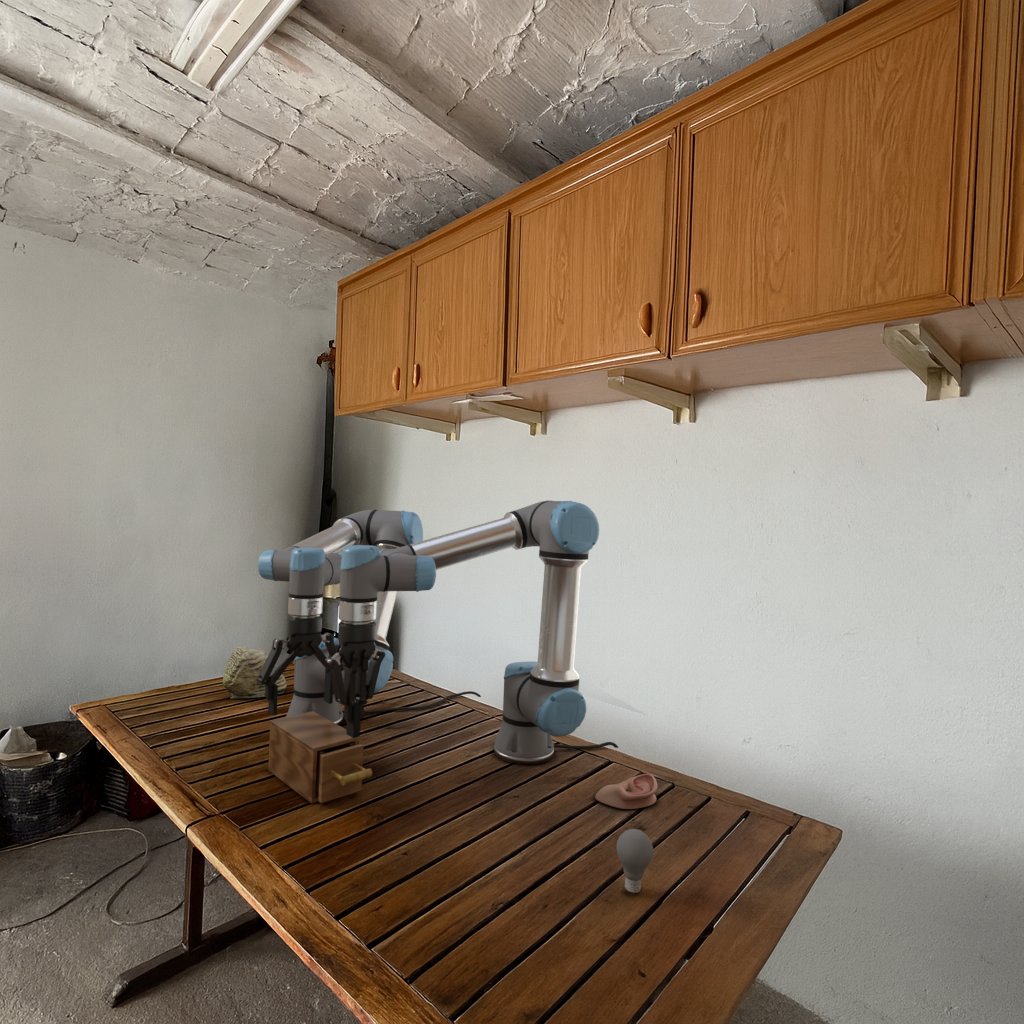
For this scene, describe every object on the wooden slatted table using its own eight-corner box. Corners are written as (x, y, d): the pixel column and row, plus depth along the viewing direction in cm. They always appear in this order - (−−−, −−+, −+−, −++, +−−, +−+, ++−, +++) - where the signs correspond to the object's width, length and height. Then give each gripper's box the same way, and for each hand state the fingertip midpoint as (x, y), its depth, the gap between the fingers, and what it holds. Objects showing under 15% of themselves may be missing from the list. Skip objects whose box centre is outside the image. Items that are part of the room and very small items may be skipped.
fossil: (218, 695, 195) (220, 647, 195) (278, 685, 208) (279, 640, 207) (228, 703, 189) (230, 653, 188) (289, 692, 201) (290, 645, 201)
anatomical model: (594, 786, 135) (598, 765, 146) (593, 805, 135) (597, 782, 146) (658, 795, 132) (657, 772, 143) (657, 814, 132) (656, 790, 143)
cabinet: (356, 788, 138) (358, 736, 138) (311, 803, 131) (313, 748, 130) (311, 758, 153) (313, 711, 153) (268, 770, 145) (270, 720, 145)
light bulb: (610, 879, 108) (613, 822, 108) (644, 879, 109) (647, 822, 109) (619, 902, 102) (622, 840, 102) (655, 901, 103) (658, 840, 103)
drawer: (377, 800, 131) (379, 754, 131) (336, 815, 125) (338, 766, 124) (317, 760, 149) (318, 720, 149) (278, 771, 143) (280, 729, 143)
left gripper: (258, 623, 134) (254, 723, 134) (361, 613, 151) (357, 701, 152) (243, 617, 139) (239, 714, 139) (345, 608, 157) (341, 693, 157)
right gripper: (338, 627, 122) (333, 748, 123) (394, 620, 131) (390, 733, 132) (319, 621, 128) (314, 737, 128) (374, 614, 137) (370, 723, 137)
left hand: (301, 707), depth 145 cm, fingers open, 13 cm apart
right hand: (353, 735), depth 130 cm, fingers closed
